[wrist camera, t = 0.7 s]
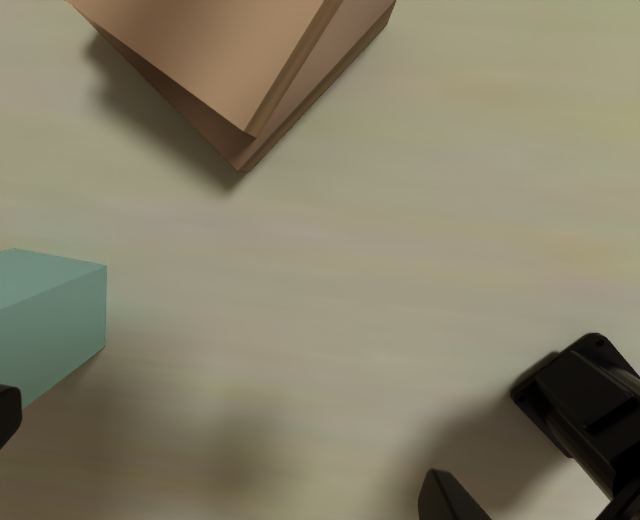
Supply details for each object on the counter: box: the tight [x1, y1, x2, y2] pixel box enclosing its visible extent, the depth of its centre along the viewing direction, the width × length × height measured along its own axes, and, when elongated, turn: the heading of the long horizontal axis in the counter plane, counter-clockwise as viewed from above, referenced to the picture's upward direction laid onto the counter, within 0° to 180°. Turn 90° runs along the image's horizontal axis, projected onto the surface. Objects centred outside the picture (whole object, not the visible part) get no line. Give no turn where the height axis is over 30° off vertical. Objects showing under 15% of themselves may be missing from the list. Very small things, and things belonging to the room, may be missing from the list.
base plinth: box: [73, 0, 396, 172], centre depth 15 cm, size 10×10×2 cm
